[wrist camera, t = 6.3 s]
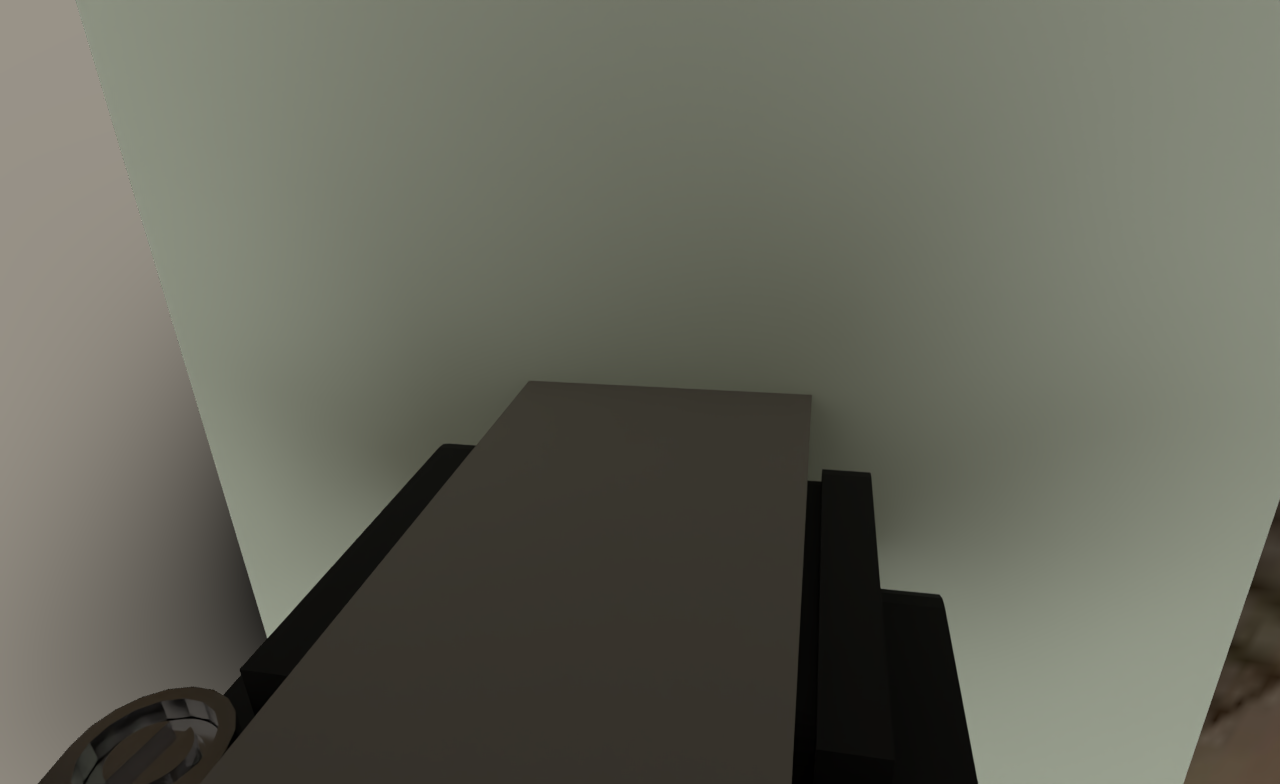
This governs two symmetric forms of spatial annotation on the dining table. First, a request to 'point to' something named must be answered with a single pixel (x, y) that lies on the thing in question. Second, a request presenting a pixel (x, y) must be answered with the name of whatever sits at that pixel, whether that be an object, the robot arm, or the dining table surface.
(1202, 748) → the dining table surface
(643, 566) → the lid
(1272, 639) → the dining table surface
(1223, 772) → the dining table surface
